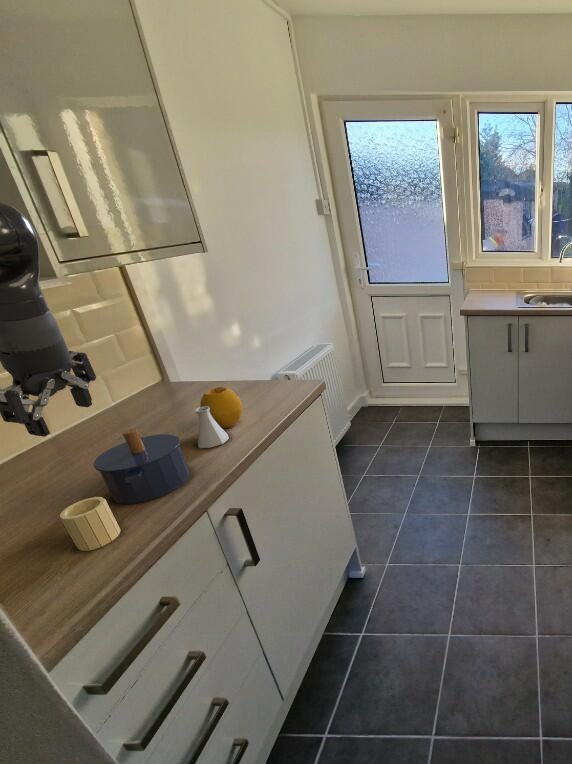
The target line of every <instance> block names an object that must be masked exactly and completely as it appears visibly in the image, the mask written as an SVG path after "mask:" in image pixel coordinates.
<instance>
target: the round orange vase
mask: <svg viewBox="0 0 572 764" xmlns="http://www.w3.org/2000/svg"><path fill="white" fill-rule="evenodd" d="M199 406H200V407H203V406H209V408H210V410H209V412H210V414H211V416H212V417H213V419H214V420H215V421H216V422H217V424H218V425H219V426H220V427H221V428H222V429H229V428H232V427H233V426H235V425H236V424H238V422H239V420H240V419H241V416H242V413H243V404H242V401H241V399H240V398H239V396H238V395H237V394H236V393H235V392H234V391H233V390H231V389H229V388H228V387H223V386H218V387H215V388H211V389H210V390H208V391H206V392H204V394H203V395H202V397H201V399H200V403H199Z"/></svg>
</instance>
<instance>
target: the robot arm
mask: <svg viewBox="0 0 572 764" xmlns="http://www.w3.org/2000/svg"><path fill="white" fill-rule="evenodd" d="M40 275H41V273H40V244H39V240H38V235H37V232H36V230H35V228H34V226H33V225H32V223H31V222H30V220H29V219H28V218H27V217H26V216H25V215H24V214H23V212H21V211H20V210H18V209H17V208H16V207H14V206H12V205H11V204H8V203H6V202H3V201H0V364H1V366H2V368H3V369H4V370H5V371H6V372H7V373H8V374H9V375H10V376H11V377H12V384H10V385H8V386H6V387H4V388H0V416H1V418H2V421H3V422H5V423H12V424H13V423H14V424H19V425H20V424H21V425H24V427H25V429H26V431H27V434H28V435H31V436H36V437H44V438H45V437H47V436H48V435H50V434H51V431H50V430H49V427H48V425H47V422H46V421H45V419H44V417H43V416H42V413H43V409H44V407H47V405H48V404H49V400H50V398H51V397H52V396H54V395H55V394H56V393H58V392H60V391H63V390H64V389H66V388H67V387H69V388H70V389H69V391H70V393H71V396H72V399H73V400H74V403H75V405H76V406H77V407H80V408H89V407H91V406H93V398H92V396H91V393H90V390H89V387H90V383H91V382H94V381H96V380H97V375H96V373H95V371H94V368H93V366H92V364H91V362H90V359H89V357H88V355H87V353H86V352H81V351H74V350H69V348H68V346H67V344H66V342H65V339H64V335H63V334H62V331H61V329H60V326H59V323H58V321H57V319H56V318H55V316H54V315H53V313H52V311H51V309H50V307H49V304H48V301H47V300H46V296H45V295H44V292H43V289H42V287H41V285H40ZM71 371H72V372H73V374H72V373H71ZM30 396H33V397H36V398H37V397H38V398H37V399H31V398H30ZM30 406H32V407H31V411H30Z"/></svg>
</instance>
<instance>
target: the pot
mask: <svg viewBox="0 0 572 764" xmlns="http://www.w3.org/2000/svg"><path fill="white" fill-rule="evenodd" d="M180 445H181V444H180ZM180 445H179V446H178V448H177V449H176V450H175V451H173V452H172V453H171V454H169V455H167V456H166V457H164V458H162V459H160V460H158V461H156V462H153V463H151V464H148V465H145V466H142V467H139V468H135V469H131V470H127V471H121V472H100V471H99V473H100V476H101V478H102V479H103V481H104V484H105V486H106V487H107V490H108V491H109V494H110V496H111V498H112V499H113V501H114V502H115V503H117V504H120V505H137V504H141V503H145V502H149V501H153V500H155V499H158V498H161V497H164V496H165V495H167V494H168V495H169V494H170V493H171V492H173V491H176V490H177V489H178V488H180V487H181V486H183V484H185V483H186V482H187V481H188V479H189V478H190V469H189V465H188V463H187V461H186V458H185V455H184V453H183V450H182V448H181V446H180Z"/></svg>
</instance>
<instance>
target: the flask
mask: <svg viewBox="0 0 572 764" xmlns="http://www.w3.org/2000/svg"><path fill="white" fill-rule="evenodd" d="M209 410H210V408H209V406H203V407H197V408H195V409H194V411H195V414H197V416H198V422H199V425H198V437H197V446H198V447H197V448H198V449H210V448H215V447H217V446H220V445H223V444H224V443H226V442H227V441H228V440H229V439H230V437H229V435H228V433H227V432H226V431H225V430H224V428H221V427H220V426H219V425H218V424H217V422H216V421H215V420H214V419H213V417H212V416H211V414H210V412H209Z"/></svg>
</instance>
